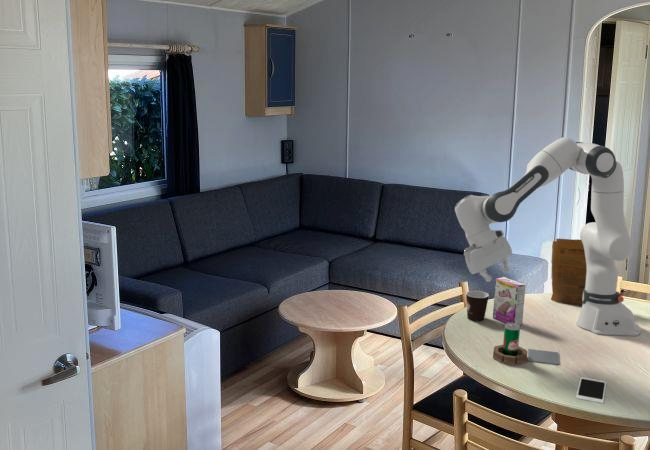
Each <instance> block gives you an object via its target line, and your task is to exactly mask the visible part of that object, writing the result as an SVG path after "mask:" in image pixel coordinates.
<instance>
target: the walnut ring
mask: <svg viewBox="0 0 650 450" xmlns="http://www.w3.org/2000/svg"><path fill="white" fill-rule="evenodd" d="M502 353H503V344H500V345H495V346H494V347H493V351H492V354H493V355H492V358H493V360H494V361H496V362H499V363H500V364H504V365H511V366H519V365H522V364H526V363H527V361H528V350H527V349H525V348H523V347H522V346H519V347H518V356H508V355H504V354H502Z"/></svg>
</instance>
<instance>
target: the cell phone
mask: <svg viewBox="0 0 650 450" xmlns="http://www.w3.org/2000/svg"><path fill="white" fill-rule="evenodd" d="M606 388H607V381H605V380H600V379H595V378H589V377H584V376H580V378H579V382H578V386H577V391H576V396H575V399H578V400H582V401H588V402H593V403H598V404H604V400H605V394H606Z"/></svg>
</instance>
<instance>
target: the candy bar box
mask: <svg viewBox="0 0 650 450" xmlns="http://www.w3.org/2000/svg"><path fill="white" fill-rule="evenodd" d="M526 286H527V285H526V284H525V283H522V282H519V281H516V280H514V279H511V278H508V277H505V276H502V277H497V278H495V281H494V294H493V295H494V298H493V311H492V319H494V320H497V321H499V322H502V323H504V324H506V323H516V324H518V325H519V326H521V325H523V320H524V319H523V318H524V308H525V307H524V306H525V296H526V295H525V294H526Z"/></svg>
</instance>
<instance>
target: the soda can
mask: <svg viewBox="0 0 650 450" xmlns="http://www.w3.org/2000/svg"><path fill="white" fill-rule="evenodd" d="M503 330H504V331H503V341H502V343H503V344H502V345H503V353H502V354H504V355H508V356H518V347H520V345H519V344H520V334H521V333H520V332H521V328H520V325H518V324H516V323H505V326H504V329H503Z"/></svg>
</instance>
